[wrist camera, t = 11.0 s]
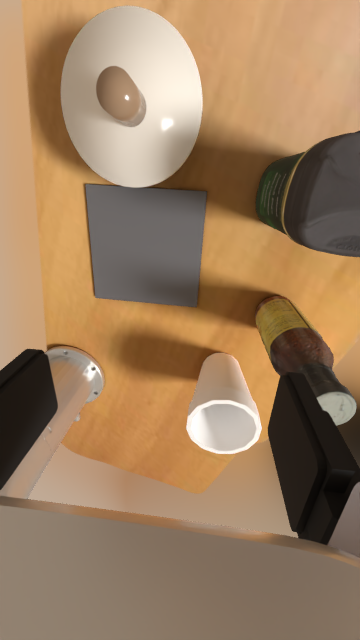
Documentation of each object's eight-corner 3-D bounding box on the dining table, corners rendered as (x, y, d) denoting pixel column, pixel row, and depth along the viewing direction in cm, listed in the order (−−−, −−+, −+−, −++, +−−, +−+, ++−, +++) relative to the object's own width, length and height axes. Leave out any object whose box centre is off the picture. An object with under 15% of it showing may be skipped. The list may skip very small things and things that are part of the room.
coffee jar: (249, 224, 35) (281, 253, 19) (263, 155, 32) (319, 114, 15) (323, 234, 35) (424, 272, 18) (346, 165, 31) (497, 133, 15)
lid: (196, 191, 29) (193, 190, 24) (74, 184, 30) (47, 182, 25) (209, 12, 23) (208, -36, 18) (55, 12, 24) (16, -34, 19)
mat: (196, 306, 41) (196, 307, 41) (96, 296, 42) (95, 297, 42) (207, 191, 34) (207, 191, 34) (86, 184, 35) (85, 184, 35)
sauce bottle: (246, 322, 41) (271, 420, 24) (266, 287, 39) (312, 368, 21) (284, 338, 42) (337, 445, 24) (307, 304, 39) (386, 397, 21)
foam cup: (185, 379, 47) (176, 439, 36) (204, 337, 43) (201, 390, 32) (235, 396, 48) (242, 462, 36) (258, 356, 44) (275, 415, 32)
